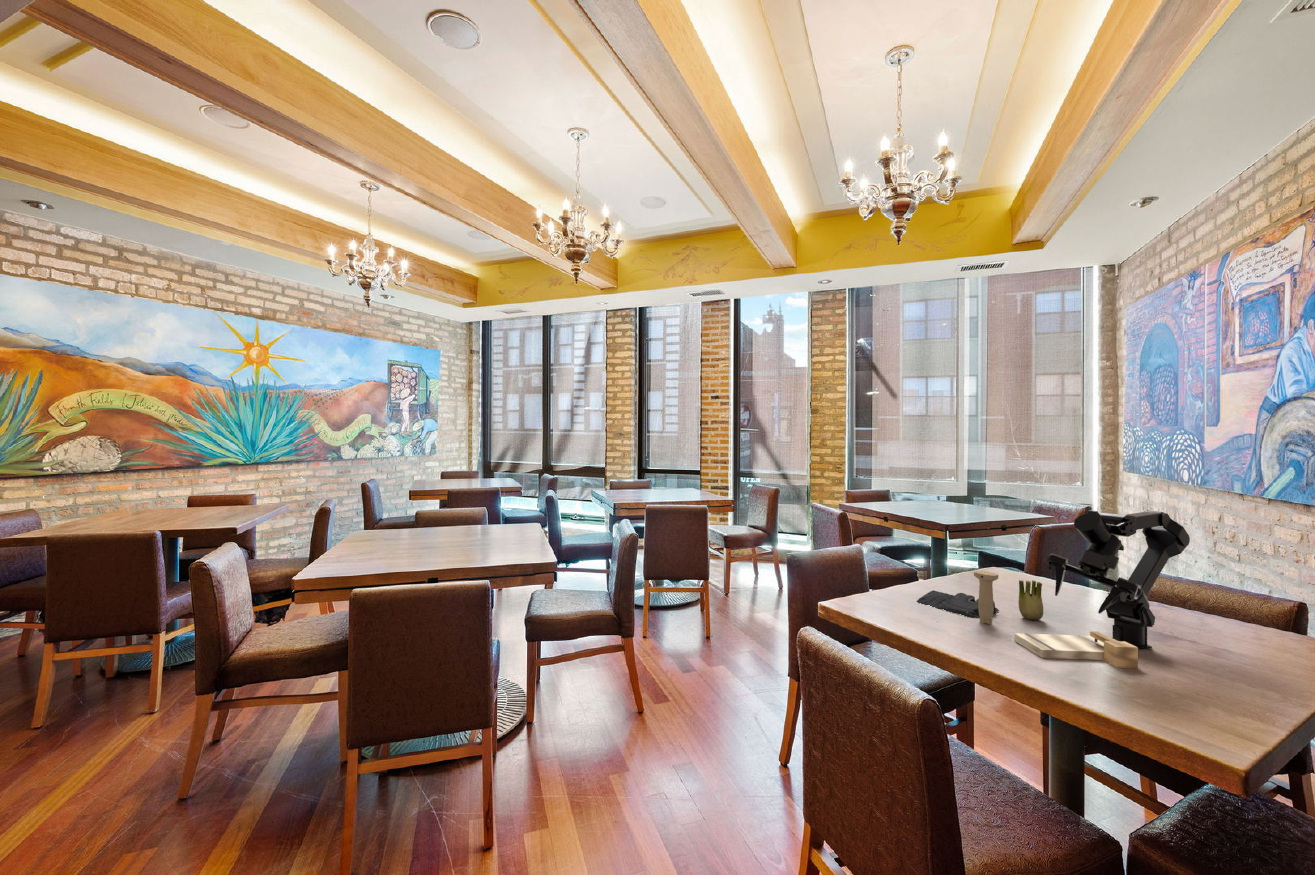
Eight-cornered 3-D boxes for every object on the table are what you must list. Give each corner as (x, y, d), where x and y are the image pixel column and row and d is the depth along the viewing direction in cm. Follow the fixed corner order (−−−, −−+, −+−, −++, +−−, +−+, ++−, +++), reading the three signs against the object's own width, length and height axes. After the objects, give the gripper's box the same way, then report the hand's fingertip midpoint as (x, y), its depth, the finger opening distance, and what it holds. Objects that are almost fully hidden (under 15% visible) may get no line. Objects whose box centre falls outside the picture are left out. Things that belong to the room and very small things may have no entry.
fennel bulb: (1016, 617, 170) (1016, 579, 170) (1026, 615, 172) (1025, 577, 172) (1036, 623, 165) (1036, 583, 165) (1046, 620, 167) (1045, 581, 167)
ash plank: (1091, 643, 148) (1091, 635, 148) (1125, 660, 136) (1125, 652, 136) (1014, 640, 150) (1014, 633, 150) (1041, 657, 138) (1041, 649, 138)
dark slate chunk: (938, 596, 194) (938, 583, 194) (1004, 613, 175) (1004, 599, 175) (912, 603, 186) (912, 589, 186) (977, 621, 167) (977, 605, 167)
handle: (993, 627, 160) (993, 576, 161) (970, 621, 166) (970, 572, 166) (1001, 624, 163) (1001, 574, 163) (978, 618, 168) (978, 570, 169)
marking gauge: (1104, 651, 143) (1104, 631, 143) (1137, 668, 132) (1137, 647, 132) (1084, 650, 143) (1084, 631, 143) (1115, 667, 132) (1115, 646, 132)
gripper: (1059, 525, 144) (1034, 574, 140) (1150, 555, 131) (1125, 609, 127) (1059, 544, 151) (1035, 591, 147) (1145, 574, 138) (1121, 627, 134)
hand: (1076, 603), depth 139 cm, fingers open, 9 cm apart
